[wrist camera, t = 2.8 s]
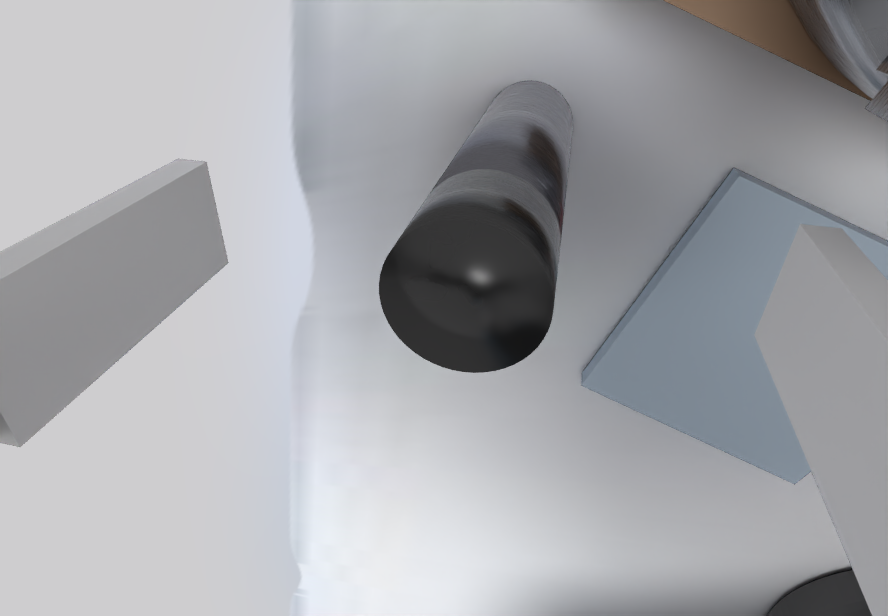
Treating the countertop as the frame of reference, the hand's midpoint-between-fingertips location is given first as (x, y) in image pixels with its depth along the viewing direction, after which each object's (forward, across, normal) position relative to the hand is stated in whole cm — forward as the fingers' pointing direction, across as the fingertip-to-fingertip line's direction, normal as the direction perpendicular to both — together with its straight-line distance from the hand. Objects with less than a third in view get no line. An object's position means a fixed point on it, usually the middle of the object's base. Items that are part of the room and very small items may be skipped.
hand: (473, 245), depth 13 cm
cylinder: (+12, 0, 0) cm, 12 cm away
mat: (+12, +12, -9) cm, 19 cm away
